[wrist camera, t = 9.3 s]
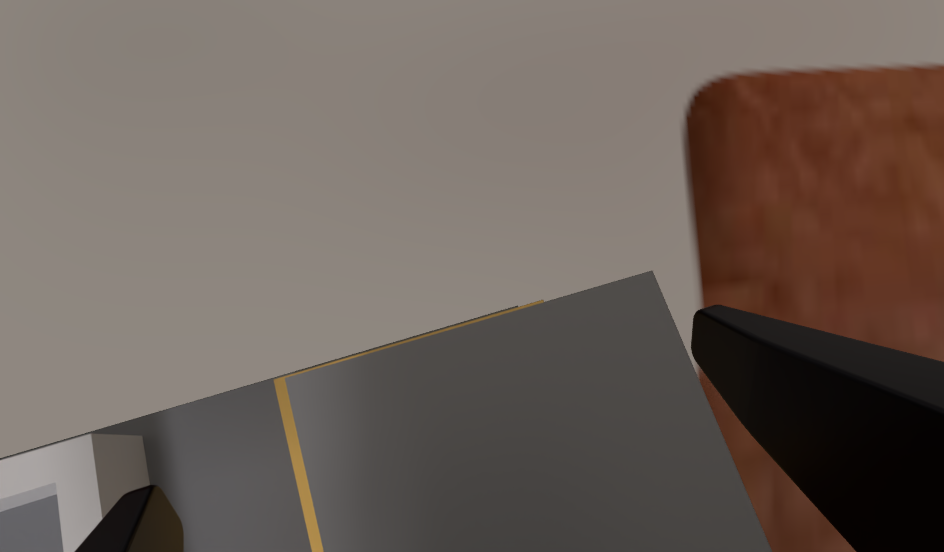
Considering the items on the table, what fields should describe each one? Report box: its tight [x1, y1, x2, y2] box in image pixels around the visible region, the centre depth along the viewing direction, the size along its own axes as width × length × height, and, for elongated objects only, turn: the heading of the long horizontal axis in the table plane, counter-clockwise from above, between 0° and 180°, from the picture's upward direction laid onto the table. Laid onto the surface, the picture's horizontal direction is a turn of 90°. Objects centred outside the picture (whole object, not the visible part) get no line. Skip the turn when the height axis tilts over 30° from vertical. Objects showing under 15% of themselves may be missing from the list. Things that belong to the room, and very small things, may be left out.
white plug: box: [285, 271, 772, 552], centre depth 10 cm, size 4×4×11 cm
